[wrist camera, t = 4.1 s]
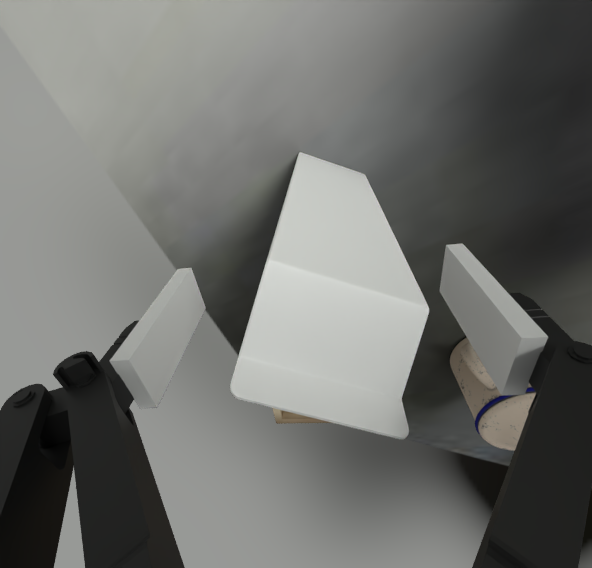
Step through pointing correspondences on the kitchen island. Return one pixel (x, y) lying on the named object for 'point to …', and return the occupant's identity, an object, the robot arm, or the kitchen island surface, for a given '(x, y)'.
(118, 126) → the kitchen island surface
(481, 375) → the teacup with lid
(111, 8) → the kitchen island surface
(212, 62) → the kitchen island surface
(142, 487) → the robot arm
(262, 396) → the milk
